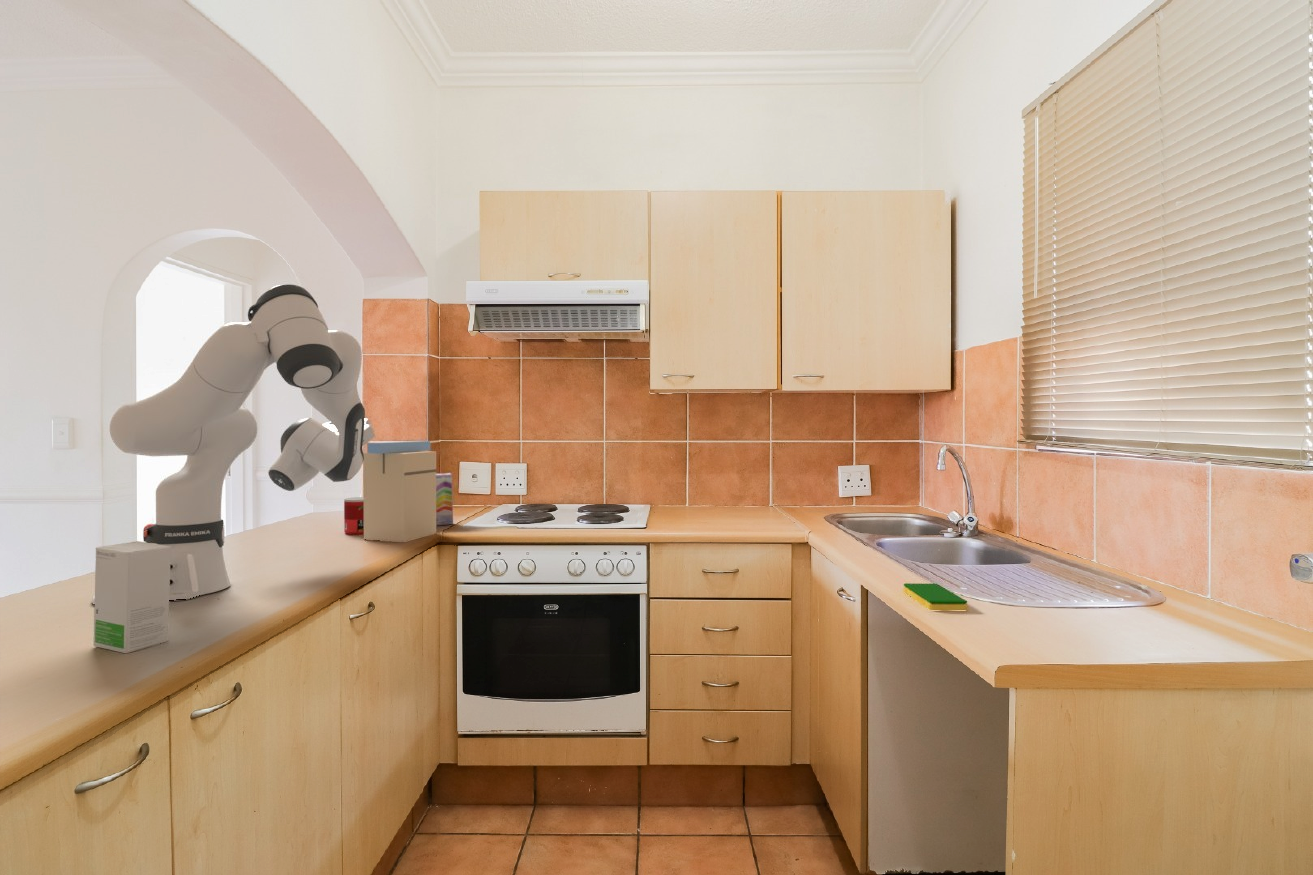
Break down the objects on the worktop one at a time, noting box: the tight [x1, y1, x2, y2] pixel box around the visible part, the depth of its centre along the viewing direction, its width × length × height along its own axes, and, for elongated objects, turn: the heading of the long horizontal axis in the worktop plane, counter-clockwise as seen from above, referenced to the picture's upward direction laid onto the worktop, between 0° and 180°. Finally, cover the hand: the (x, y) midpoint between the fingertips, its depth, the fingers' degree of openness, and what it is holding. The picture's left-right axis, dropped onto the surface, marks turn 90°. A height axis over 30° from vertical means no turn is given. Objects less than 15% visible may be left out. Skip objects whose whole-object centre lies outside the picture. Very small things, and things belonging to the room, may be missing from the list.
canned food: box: [343, 496, 364, 536], centre depth 207 cm, size 8×8×11 cm
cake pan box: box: [436, 472, 454, 526], centre depth 223 cm, size 19×5×18 cm, turn 111°
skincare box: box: [93, 541, 171, 654], centre depth 103 cm, size 8×7×16 cm
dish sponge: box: [903, 582, 968, 611], centre depth 131 cm, size 7×14×2 cm, turn 0°
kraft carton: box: [363, 450, 437, 543], centre depth 201 cm, size 16×14×26 cm
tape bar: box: [366, 440, 431, 454], centre depth 201 cm, size 25×4×3 cm, turn 165°
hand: (352, 421), depth 182 cm, fingers open, 8 cm apart
